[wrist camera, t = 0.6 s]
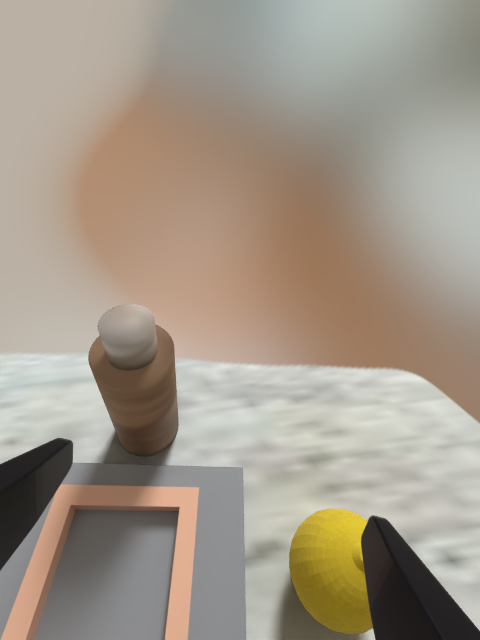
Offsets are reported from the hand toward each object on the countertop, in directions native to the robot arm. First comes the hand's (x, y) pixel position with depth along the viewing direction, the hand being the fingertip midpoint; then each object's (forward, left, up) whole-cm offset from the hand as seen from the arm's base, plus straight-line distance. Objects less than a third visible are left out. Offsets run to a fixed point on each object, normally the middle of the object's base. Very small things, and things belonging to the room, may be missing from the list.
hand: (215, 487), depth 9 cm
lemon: (+3, -7, -16) cm, 18 cm away
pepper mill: (+5, +9, -16) cm, 19 cm away
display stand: (-3, +4, -16) cm, 17 cm away
